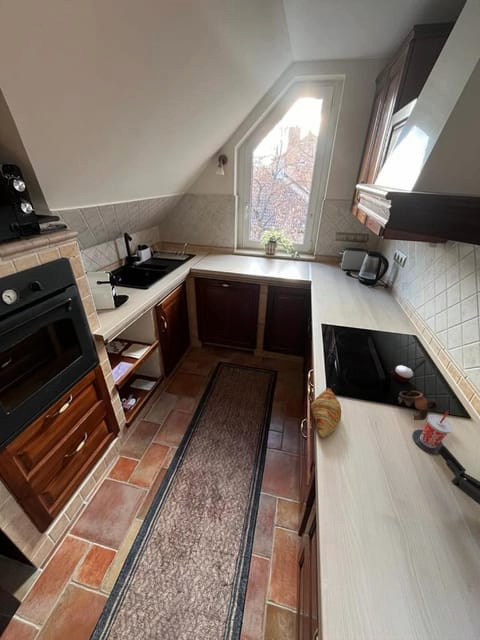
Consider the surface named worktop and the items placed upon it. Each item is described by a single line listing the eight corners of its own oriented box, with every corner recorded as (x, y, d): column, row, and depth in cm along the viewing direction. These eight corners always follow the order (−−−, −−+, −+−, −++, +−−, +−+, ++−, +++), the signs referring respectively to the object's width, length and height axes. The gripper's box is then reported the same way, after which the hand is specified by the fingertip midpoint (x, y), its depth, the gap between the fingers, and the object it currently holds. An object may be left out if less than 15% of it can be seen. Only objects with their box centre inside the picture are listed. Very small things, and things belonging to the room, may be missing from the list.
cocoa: (387, 379, 105) (397, 356, 99) (390, 370, 110) (400, 348, 104) (413, 389, 101) (426, 366, 95) (415, 380, 105) (427, 357, 99)
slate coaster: (437, 433, 84) (437, 432, 84) (448, 458, 77) (449, 457, 76) (408, 427, 86) (409, 426, 85) (417, 451, 78) (417, 450, 78)
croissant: (328, 449, 82) (346, 440, 77) (303, 431, 82) (319, 421, 77) (332, 400, 98) (347, 390, 94) (311, 385, 98) (325, 375, 94)
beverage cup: (414, 440, 81) (432, 411, 74) (420, 429, 85) (437, 400, 77) (437, 454, 77) (458, 424, 70) (441, 441, 81) (462, 412, 74)
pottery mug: (406, 422, 88) (402, 399, 87) (395, 411, 97) (392, 390, 97) (445, 420, 85) (442, 396, 85) (430, 409, 94) (427, 387, 94)
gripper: (491, 559, 52) (416, 458, 70) (591, 542, 55) (495, 449, 73) (512, 545, 48) (427, 442, 66) (618, 527, 51) (510, 433, 69)
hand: (463, 446), depth 70 cm, fingers open, 13 cm apart
